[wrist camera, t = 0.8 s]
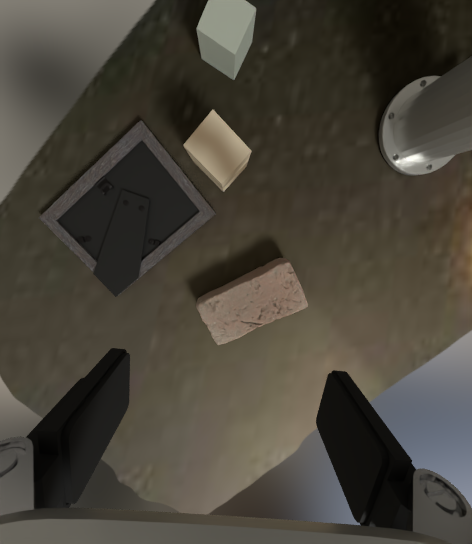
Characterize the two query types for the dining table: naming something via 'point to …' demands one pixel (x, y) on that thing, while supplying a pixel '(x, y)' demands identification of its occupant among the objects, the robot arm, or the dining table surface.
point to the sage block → (226, 34)
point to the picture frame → (128, 210)
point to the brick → (252, 301)
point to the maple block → (217, 151)
